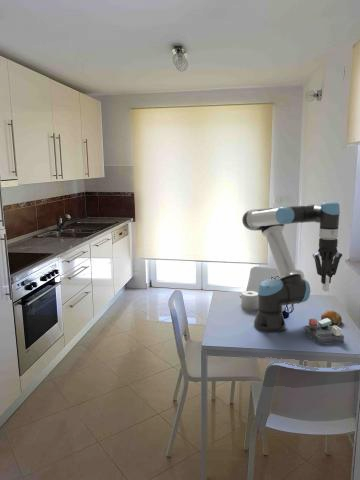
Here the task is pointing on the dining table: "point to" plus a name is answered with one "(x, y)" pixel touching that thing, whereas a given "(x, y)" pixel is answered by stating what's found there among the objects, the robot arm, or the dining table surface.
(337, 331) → the slider knob
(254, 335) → the dining table surface
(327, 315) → the bread roll
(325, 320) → the rocker
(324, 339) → the panel
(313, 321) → the red button
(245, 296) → the toilet tissue
